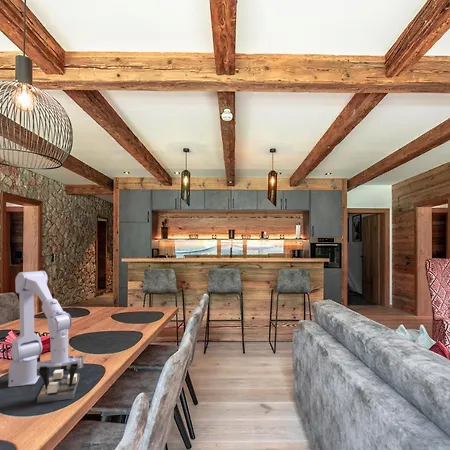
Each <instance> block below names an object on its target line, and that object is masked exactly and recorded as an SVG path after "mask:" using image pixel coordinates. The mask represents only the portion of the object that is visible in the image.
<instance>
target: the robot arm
mask: <svg viewBox="0 0 450 450" xmlns="http://www.w3.org/2000/svg"><path fill="white" fill-rule="evenodd" d="M48 278H49V277H48V274H47V272H46V271H45V270H39V271H38V270H37V271H27V272H25V271H21V272H18V274H17V275H16V276H15V278H14V279H15V280H14V281H15V293H16V294H18V295H19V296H18V297H19V298H18V300H19V335H18V336H17V337H16V338H14V340H12V342H11V343H12V345H11V350H10V355H11V359H12V360H10V363H9V366H8V385H7V387H8V388H11V387H12V388H13V387H18V386H19V387H20V386H28V385H29V386H30V385H36V383H37V382H38V380H39V378H42V381H43V384H45V387H46V389H47V386H48V384H49V377H50V368H55V367H56V368H58V367H59V368H60V367H67V366H69V365H71V366H70V368H69V369H68V370H69V374H70V382H69V387H71V386H72V382H73V377H74V374H76V371H77V370H78V369H77V367H78V365H81V358H76V357H73V358H68V354H69V330H70V329H71V328H72V326H73V320H72V316H71V315H70V313H69V312H66V311H64V310H63V308H62V307H61V305H60V302H59V301H58V300H57V299H56V298H53V296H52V293H51V292H50V289H49V287H48V280H49V279H48ZM34 294H36V295H37V296H38V298H39V300H40V301H41V302H42V306H41V309H42V312H43V313H44V315H45V317H46V318H47V329H48V334H49V337H50V359H48V360H43V361H40V362H38V363H37V358H38V357H39V355H40V356H41V354H42V353H43V352H42V351H43V343H42V339H41V336H40V335H38V334H36V333H35V307H34V306H35V305H34V301H35V300H34ZM38 370H39V371H38ZM38 372H39V375H38Z"/></svg>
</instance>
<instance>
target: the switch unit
mask: <svg viewBox="0 0 450 450" xmlns="http://www.w3.org/2000/svg"><path fill="white" fill-rule="evenodd" d="M76 374H77V382H76V383H75V384H72V386H71V387H69V384H67V377H68V375H69V374H63V377H62V379H53V375H52V376H50V375H49V383H51V382H58V390H57V392H56V393H47V389H46V387H45V383H43V384H44V385H43V386H42V388H41V389H40V392H39V393H38V395H37V397H36V399H37V400H36V403H37V404H40V403H49V402H56V401H57V402H59V401H67V400H73V399H74V397H75V394H76V390H77V388H78V384H79V381H80V379H81V378H80V375H81V373H76Z"/></svg>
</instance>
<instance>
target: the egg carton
mask: <svg viewBox="0 0 450 450" xmlns="http://www.w3.org/2000/svg"><path fill="white" fill-rule="evenodd" d="M85 357H86V355H85V354H84V355H80V356H78V355H76V356H75V358H81V365H78V367H77V369H76V370H79V369H82V368H84V360H85ZM68 358H74V356H73V355H70V354H69V353H68ZM70 366H71V365H69V366H66V370H69V368H70Z"/></svg>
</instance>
